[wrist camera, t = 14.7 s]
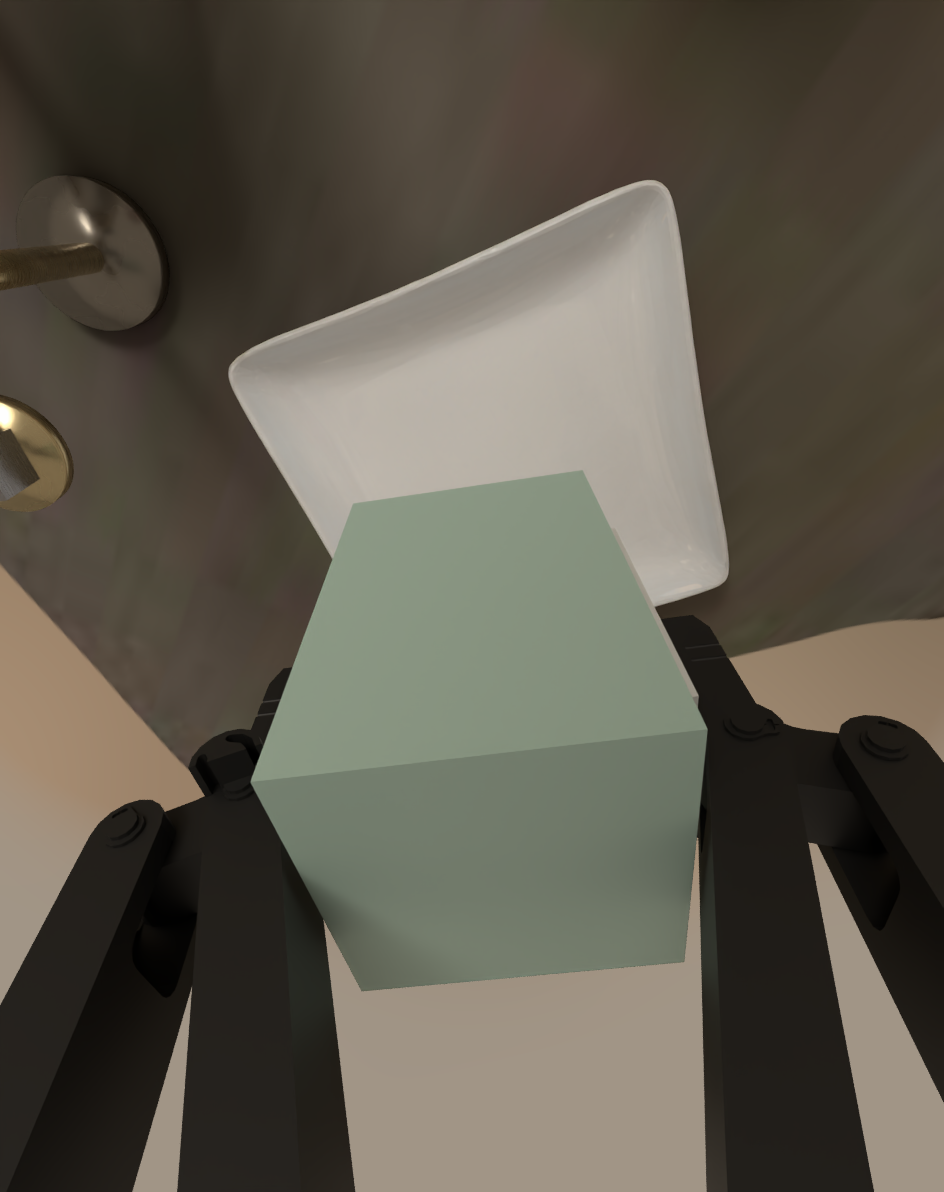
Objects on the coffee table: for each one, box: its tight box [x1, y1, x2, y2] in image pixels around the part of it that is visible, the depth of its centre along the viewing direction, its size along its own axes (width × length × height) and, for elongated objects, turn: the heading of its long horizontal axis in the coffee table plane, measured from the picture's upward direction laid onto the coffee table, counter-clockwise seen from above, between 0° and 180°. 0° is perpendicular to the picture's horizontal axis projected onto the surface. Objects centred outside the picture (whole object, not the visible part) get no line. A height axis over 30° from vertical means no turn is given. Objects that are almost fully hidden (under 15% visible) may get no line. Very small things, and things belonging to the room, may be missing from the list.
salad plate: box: [228, 180, 729, 607], centre depth 32 cm, size 21×21×3 cm
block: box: [251, 470, 708, 991], centre depth 13 cm, size 6×6×9 cm
